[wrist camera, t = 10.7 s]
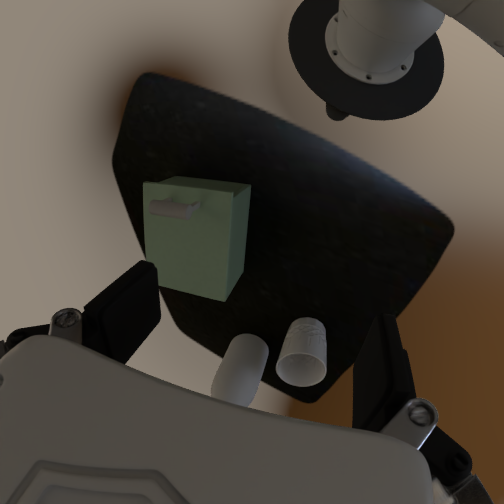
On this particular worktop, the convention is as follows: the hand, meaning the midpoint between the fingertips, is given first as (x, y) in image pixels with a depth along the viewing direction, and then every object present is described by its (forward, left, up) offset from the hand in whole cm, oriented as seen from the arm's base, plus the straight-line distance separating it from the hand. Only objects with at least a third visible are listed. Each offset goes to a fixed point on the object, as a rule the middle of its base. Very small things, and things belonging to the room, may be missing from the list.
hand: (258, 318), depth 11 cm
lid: (+9, -15, -23) cm, 29 cm away
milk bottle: (+33, -6, -32) cm, 47 cm away
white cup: (+26, +4, -32) cm, 42 cm away
